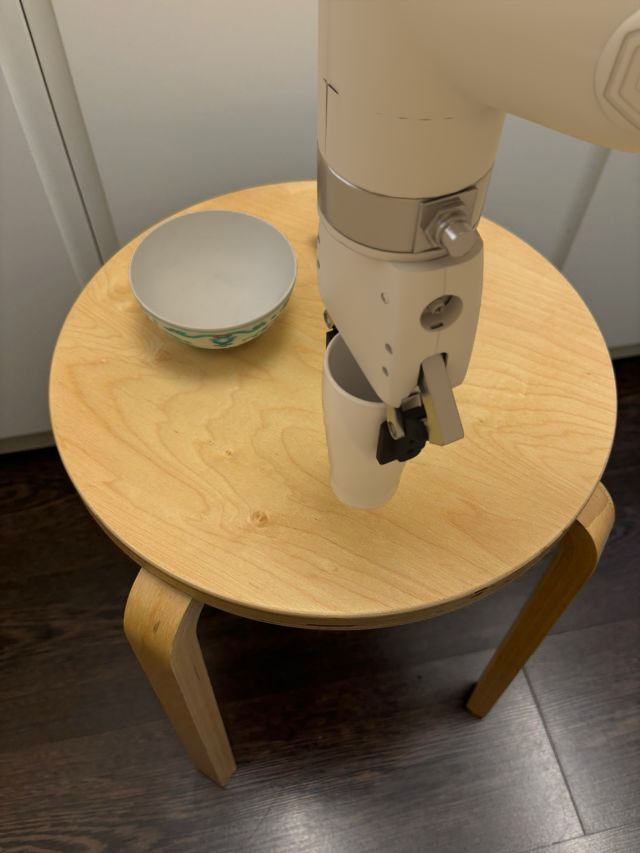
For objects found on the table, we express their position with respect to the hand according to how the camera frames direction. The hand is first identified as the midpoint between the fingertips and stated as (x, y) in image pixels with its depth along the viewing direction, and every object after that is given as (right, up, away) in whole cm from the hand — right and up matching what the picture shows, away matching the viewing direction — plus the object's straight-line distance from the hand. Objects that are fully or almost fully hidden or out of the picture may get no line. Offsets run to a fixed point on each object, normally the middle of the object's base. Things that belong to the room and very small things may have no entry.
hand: (373, 407), depth 46 cm
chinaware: (-13, +9, +24) cm, 29 cm away
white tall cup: (0, -6, +9) cm, 10 cm away
